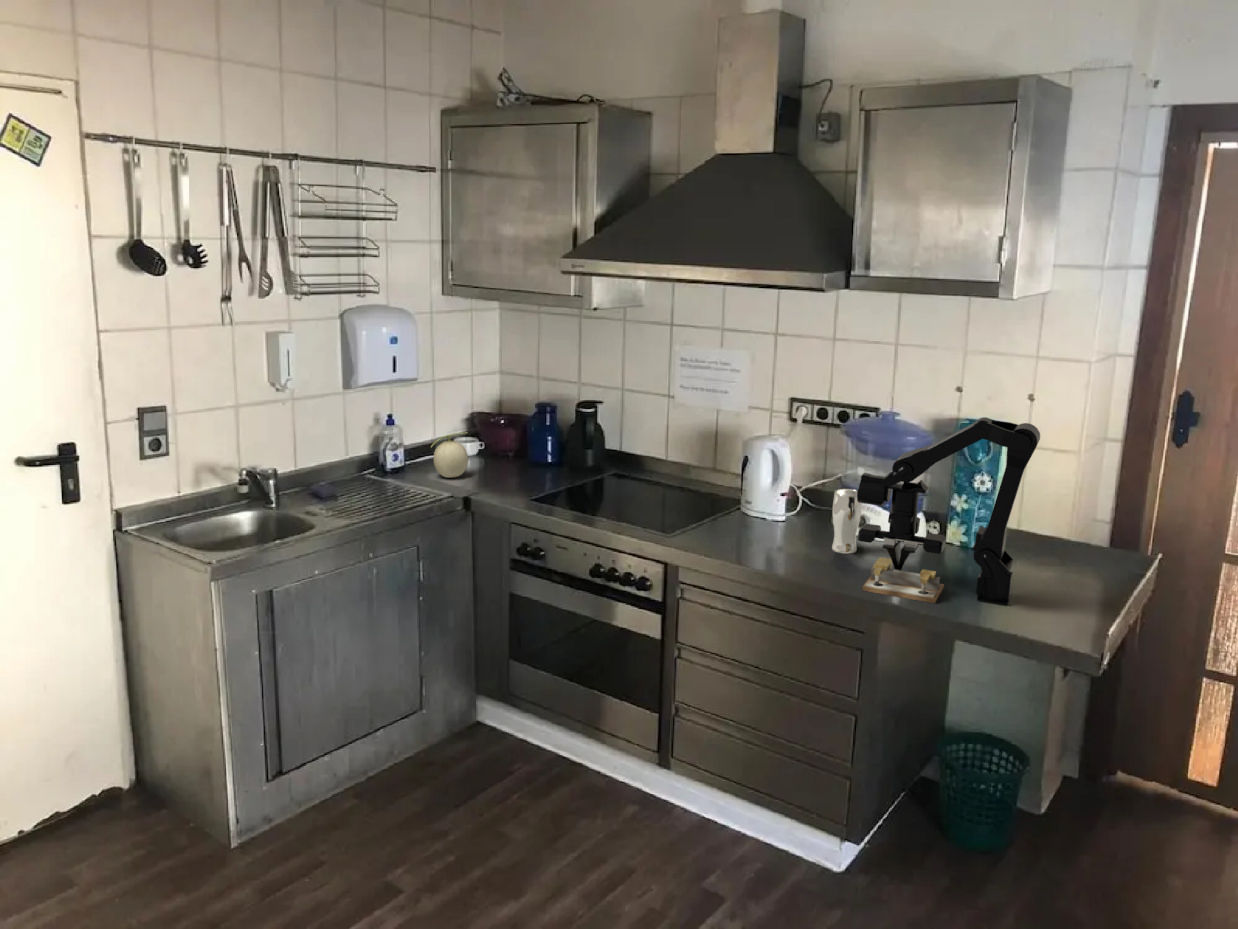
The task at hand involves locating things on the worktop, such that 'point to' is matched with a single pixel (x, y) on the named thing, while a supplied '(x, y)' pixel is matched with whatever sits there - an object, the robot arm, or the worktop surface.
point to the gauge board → (906, 584)
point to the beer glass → (845, 520)
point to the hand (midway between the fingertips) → (898, 573)
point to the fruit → (450, 457)
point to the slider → (881, 567)
